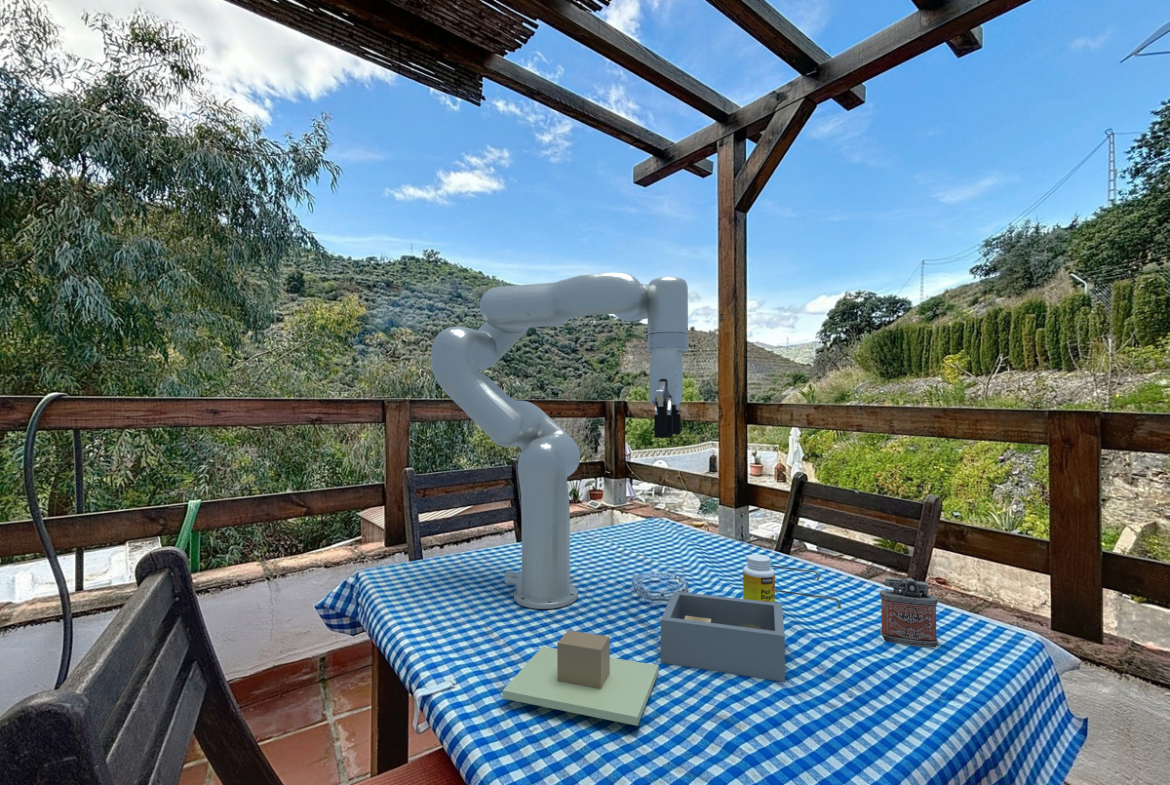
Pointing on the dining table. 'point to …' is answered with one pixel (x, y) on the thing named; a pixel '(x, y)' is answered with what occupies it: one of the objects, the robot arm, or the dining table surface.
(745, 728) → the dining table surface
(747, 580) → the supplement bottle
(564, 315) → the robot arm
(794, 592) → the eyeglasses
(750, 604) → the tub
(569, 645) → the lid
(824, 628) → the dining table surface
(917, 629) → the lighter
